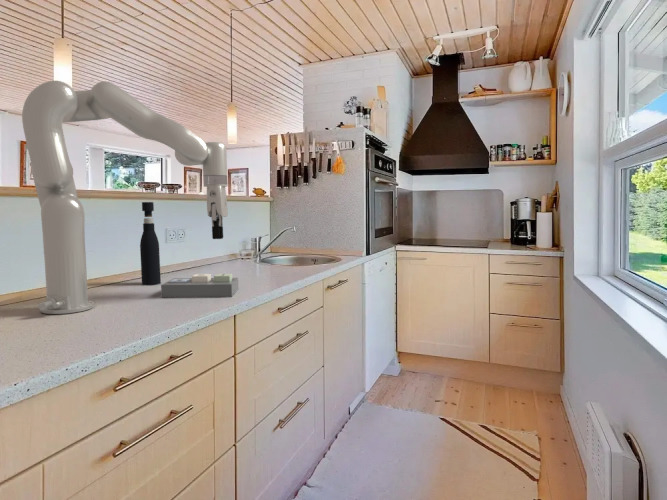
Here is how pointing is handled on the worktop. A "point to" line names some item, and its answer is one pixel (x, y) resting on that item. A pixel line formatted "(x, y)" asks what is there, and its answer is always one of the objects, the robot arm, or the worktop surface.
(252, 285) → the worktop surface
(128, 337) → the worktop surface
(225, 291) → the key panel
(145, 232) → the wine bottle
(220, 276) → the key sage
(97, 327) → the worktop surface
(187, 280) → the key blue
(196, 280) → the key cream
